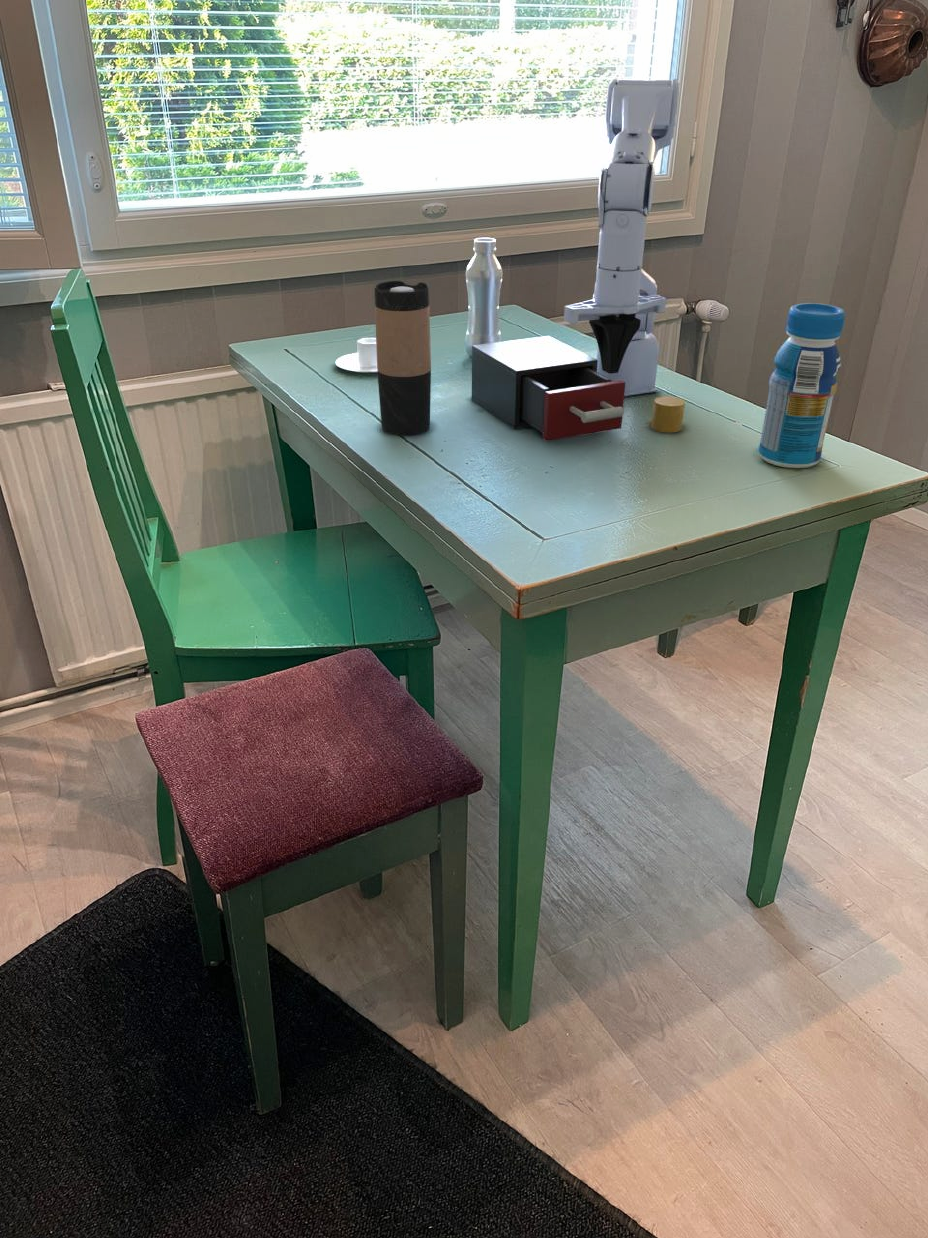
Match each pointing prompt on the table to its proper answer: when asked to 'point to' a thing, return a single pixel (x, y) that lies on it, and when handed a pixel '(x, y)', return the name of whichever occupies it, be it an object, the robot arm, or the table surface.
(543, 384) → the drawer
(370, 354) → the candle holder
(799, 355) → the beverage bottle
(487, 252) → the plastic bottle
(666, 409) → the yellow cylinder
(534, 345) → the charcoal grey case
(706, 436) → the table surface
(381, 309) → the travel mug
